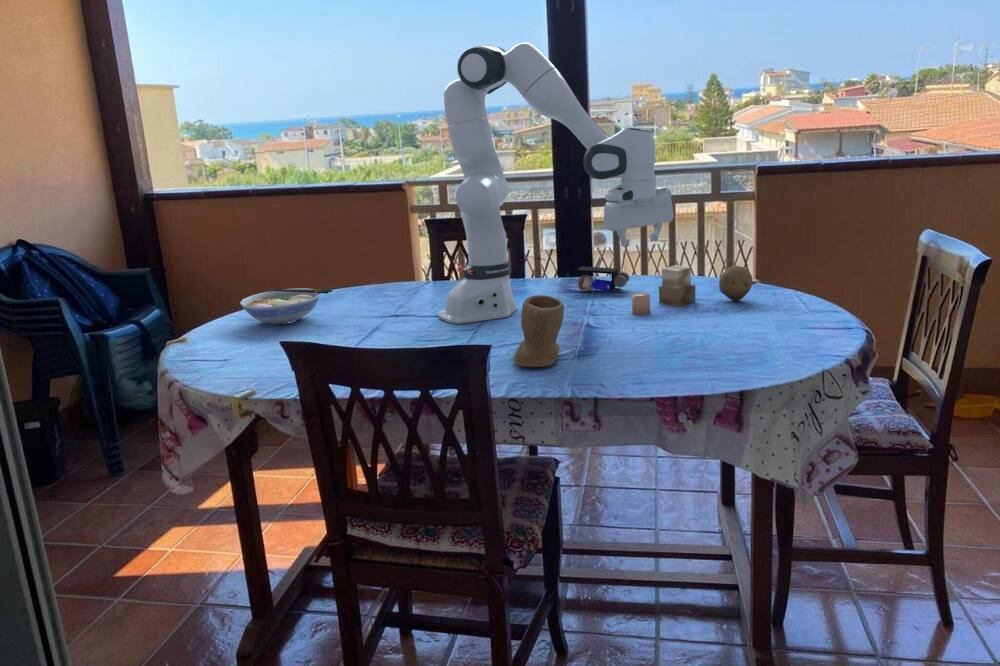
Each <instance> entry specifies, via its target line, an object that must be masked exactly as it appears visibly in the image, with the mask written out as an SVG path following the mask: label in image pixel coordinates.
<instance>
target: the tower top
mask: <svg viewBox="0 0 1000 666" xmlns="http://www.w3.org/2000/svg"><path fill="white" fill-rule="evenodd" d="M691 269H692V267H690V266H684V265H676V264H675V265H671V266H667V267H663V268H661V281H662V284H661V286H664V287H670V288H676V289H679V288H682V287H686V286H689V285H691V284H692V278H691V277H692V275H691V274H692V273H691V272H692V271H691Z"/></svg>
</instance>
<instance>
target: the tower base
mask: <svg viewBox="0 0 1000 666" xmlns="http://www.w3.org/2000/svg"><path fill="white" fill-rule="evenodd" d="M661 303H662V305H665V306H666V305H667V306H672V307H677V308H680V307H683V306H686V305H690V304H694V303H696V284H694V283H693V284H692V283H691V285H689V286H686V287H682V288H679V289H676V288H670V287H664V286H662V285H659V286H658V304H661Z"/></svg>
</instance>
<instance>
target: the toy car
mask: <svg viewBox="0 0 1000 666" xmlns="http://www.w3.org/2000/svg"><path fill="white" fill-rule="evenodd" d="M576 273H591V274H592V273H593V274H608V275H611V280H607V279H598V278H595V279H594V278H593V277H592V276H591V275H589V274H588V275H587V274H583V275H581V276H580V277H579V278H578V280H577V287H578V288H579V290H580V291H582V292H589V291H591V290H592V289H593V290H601V291H607V292H611V293H619V294H620V293H621V291H623V289H622V288H623V287H625V286H626V285H627V283H628V282H629V281H630V274H628V273H627V272H624V271H621V272H619V268H617V267H615V268H614V267H598V266H597V267H596V266H595V267H594V266H580V267H579V268H577V269H576Z"/></svg>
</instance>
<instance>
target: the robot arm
mask: <svg viewBox="0 0 1000 666" xmlns="http://www.w3.org/2000/svg"><path fill="white" fill-rule="evenodd" d="M456 66H457V74H458V76H459V79H455V80H453V81H451V82H449V84H447V86H446V87H445V89H444V91H443V103H444V106H443V107H444V113H445V119H446V120H445V121H446V125H447V130H448V134H449V139H450V143H451V147H452V152H453V155H454V158H455V159H456V160H457V163H458V164H459V166H460V169H461V172H462V174H463V177H464V180H463V181H462V182H461V183H460V185H459V186H458V187H457V191H456V194H455V200H456V204H457V207H458V209H459V211H460V216H461V218H462V224H463V227H464V231H465V236H466V237H465V238H466V245H467V255H468V256H467V257H468V263H467V264H466V266H465V265H464V266H463V265H461V264H460V265H458V266H457V268H456V270H457V271H456V272H458V273H460V274H463V278H462V279H461V280H460V281H459V282H458V283H457V284H456V285H455V286H454V287H453V288H452V289H451V290H450V291H449V292H448V293H447V295H446V299H445V309H443V310H440V311H439V312H438V313H437V314H438V318H439V319H440V320H441V321H444V322H447V323H450V324H455V325H456V324H457V325H460V324H469V323H476V322H480V321H481V322H482V321H488V320H495V319H503V318H509V317H510V316H511V315H512V314H513V313H514V312H516V311H517V309H518V307H517V305H516V301H515V298H514V295H513V290H512V285H511V265H510V260H509V259H508V258H509V257H508V239H507V232H506V230H505V227H504V223H503V220H502V216H501V206H503V204H504V203H505V201H506V199H507V198H508V194H509V184H508V181H507V179H506V178H505V175H504V172H503V169H502V166H501V163H500V160H499V157H498V154H497V151H496V148H495V145H494V140H493V137H492V132H491V126H490V122H489V118H488V114H487V109H486V102H485V101H486V100H485V99H486V96H487V95H490V94H492V93H493V92H495V91H497V90H498V89H500V88H502V87H503V86H504V85H506V83H509V84H510V85H512V86H513V87H514V88H515V89H516V90H517V92H518V93H519V94H520V95H521V96H522V98H523V99H524V100H525V101H526V102H527V104H529V106H531V107H532V108H533V110H535V111H536V112H537V113H539V114H540V115H541V116H543V117H546V118H549V119H551V120H555V121H557V122H559V123H561V125H564V126H565V127H567V129H569V131H570V132H571V133H572V134H573V135H574V136H575V137H576V138H577V140H578V141H580V143H581V145H583V146H584V148H585V149H586V151H585V153H584V156H583V162H582V163H583V167H584V170H585V172H586V174H588V175H589V176H590V177H592V178H593V179H595V180H598V181H599V180H601V181H605V180H609V179H612V178H615V177H620V184H619V185H617V186H615V187H613V188H611V189H609V190H608V191H606V192H605V193H604V199H605V200H606V201H607V202H606V203H605V204H604V207H603V226H604V228H605V229H606V230H607V231H611V232H616V234H617V236H618V238H619V239H620V246H621V247H625V248H626V247H629V246H630V245H631V243H630V238H627V236H626V235H625V234H627V230H630V229H635V228H641V227H648V226H652V227H653V231H652V233H650V234H649V241H651V242H658V241H659V235H660V232H661V231H662V228H663V224H666V223H671V222H672V221H673V220H674V207H673V202H672V191H671V190H670V189H669V188H668V187H666V186H662V187H657V180H656V179H657V177H656V173H655V166H656V165H655V163H656V144H655V138H654V135H653V133H652V131H651V130H649V129H648V128H645V127H643V126H630V125H629V126H628V125H627V126H623V128H621V130H619V131H618V132H616V133H615V134H613V135H611V136H610V134H607V133H606V132H605V131H604V130H603V129H602V128H601V127H600V126H599V124H598V123H596V121H595V120H594V119H593V118H592V117H591V115H589V113H588V112H587V111H586V109H585V108H584V107H583V106H582V105H581V103H580V101H579V100H578V98H577V97H576V95H575V94H574V92H573V90H572V89H571V87H570V86H569V84H568V82H567V81H566V79H565V78H564V77H563V75H562V74H561V72H560V71H559V70H558V68H556V66H555V65H554V64H553V63H552V62H551V60H549V59H548V57H547V56H546V55H545V54H543V53H542V52H541V51H540V50H539V49H538V48H536V46H534V45H533V44H531V43H529V42H520V43H519V44H516V45H514V46H513V47H512V48H510V49H509V50H508V51H506V50H504V49H503V48H502V47H499V46H494V45H492V44H491V45H490V44H481V45H475V46H474V45H473V46H471V47H469V48H467V49H466V50H464V51H463V52H462V54H461V55H460V56H459V58H458V61H457V65H456Z"/></svg>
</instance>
